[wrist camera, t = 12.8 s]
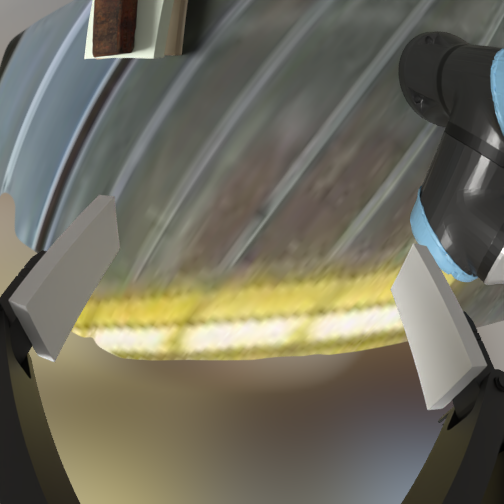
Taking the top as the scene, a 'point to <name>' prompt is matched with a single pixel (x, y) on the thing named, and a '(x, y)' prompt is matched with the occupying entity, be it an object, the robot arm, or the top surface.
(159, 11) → the top block
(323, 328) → the top surface
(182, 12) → the base block
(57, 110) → the top surface
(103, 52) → the brick
